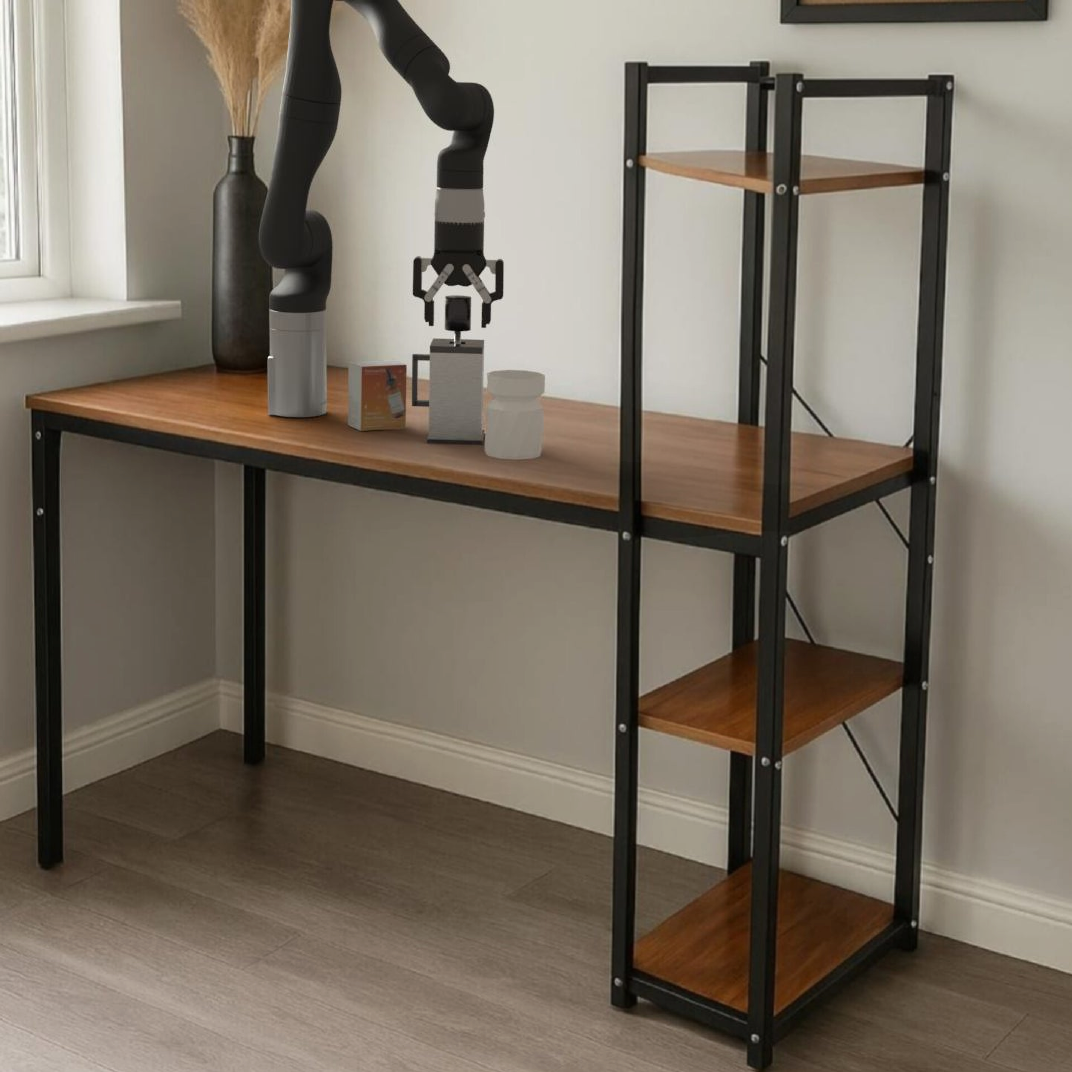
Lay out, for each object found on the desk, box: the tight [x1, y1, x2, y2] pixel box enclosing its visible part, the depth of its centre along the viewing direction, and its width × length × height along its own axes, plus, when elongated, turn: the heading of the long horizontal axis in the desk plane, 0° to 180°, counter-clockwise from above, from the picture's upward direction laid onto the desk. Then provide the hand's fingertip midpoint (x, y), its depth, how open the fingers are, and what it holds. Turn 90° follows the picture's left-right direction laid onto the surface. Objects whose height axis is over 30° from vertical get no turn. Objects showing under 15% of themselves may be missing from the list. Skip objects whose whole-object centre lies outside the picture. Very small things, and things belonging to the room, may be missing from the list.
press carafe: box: [411, 338, 485, 446], centre depth 261 cm, size 11×9×15 cm
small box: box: [347, 359, 408, 432], centre depth 268 cm, size 8×6×10 cm
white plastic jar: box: [484, 369, 546, 461], centre depth 252 cm, size 9×9×12 cm
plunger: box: [444, 294, 472, 344], centre depth 260 cm, size 5×5×21 cm
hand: (457, 326), depth 258 cm, fingers open, 7 cm apart
